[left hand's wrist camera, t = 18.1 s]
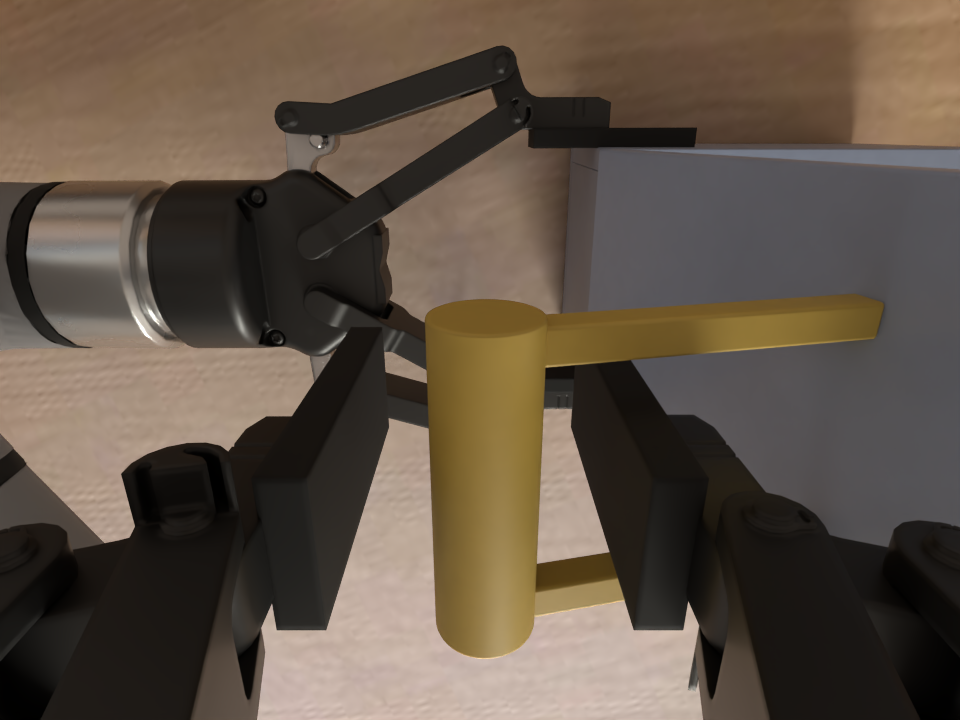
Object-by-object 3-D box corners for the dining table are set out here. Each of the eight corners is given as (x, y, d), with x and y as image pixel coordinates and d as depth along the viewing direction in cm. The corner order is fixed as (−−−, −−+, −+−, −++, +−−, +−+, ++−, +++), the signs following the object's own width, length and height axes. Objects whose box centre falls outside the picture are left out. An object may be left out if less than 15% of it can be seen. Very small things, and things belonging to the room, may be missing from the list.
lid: (1193, 182, 7) (464, 201, 5) (942, 759, 11) (471, 888, 9) (620, 148, 21) (373, 150, 19) (598, 401, 25) (390, 422, 23)
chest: (856, 143, 31) (1018, 148, 21) (815, 326, 34) (937, 399, 25) (571, 143, 31) (607, 148, 21) (561, 325, 34) (588, 397, 25)
